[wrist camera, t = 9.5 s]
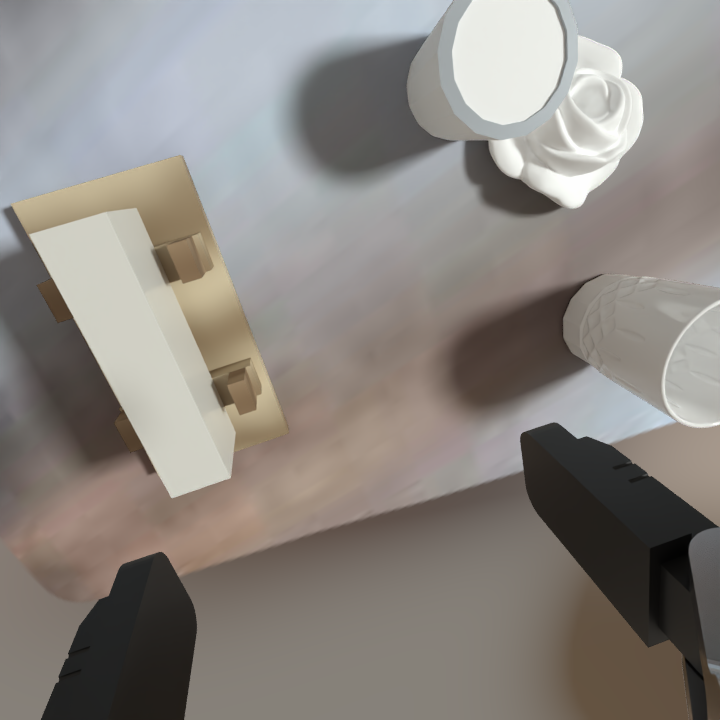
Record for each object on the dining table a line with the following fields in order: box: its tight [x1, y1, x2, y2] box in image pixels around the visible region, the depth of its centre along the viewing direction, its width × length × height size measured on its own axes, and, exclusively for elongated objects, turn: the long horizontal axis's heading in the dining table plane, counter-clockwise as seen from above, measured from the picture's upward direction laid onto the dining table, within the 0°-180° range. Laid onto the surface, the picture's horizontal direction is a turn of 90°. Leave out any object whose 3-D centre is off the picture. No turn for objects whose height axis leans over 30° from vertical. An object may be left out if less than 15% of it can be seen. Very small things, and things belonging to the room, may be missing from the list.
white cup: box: [563, 274, 720, 428], centre depth 30 cm, size 8×8×10 cm
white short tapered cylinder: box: [406, 0, 578, 140], centre depth 24 cm, size 7×7×7 cm
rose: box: [488, 35, 643, 209], centre depth 27 cm, size 10×4×10 cm
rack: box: [11, 155, 289, 477], centre depth 27 cm, size 18×9×4 cm, turn 16°
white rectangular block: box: [29, 208, 236, 498], centre depth 24 cm, size 14×3×5 cm, turn 15°
